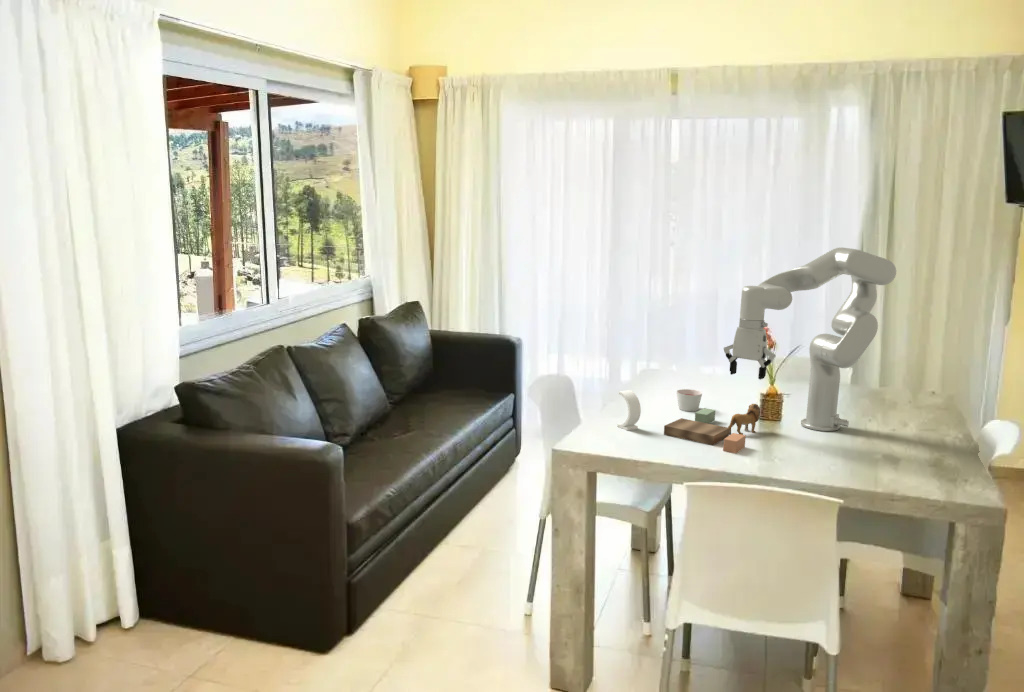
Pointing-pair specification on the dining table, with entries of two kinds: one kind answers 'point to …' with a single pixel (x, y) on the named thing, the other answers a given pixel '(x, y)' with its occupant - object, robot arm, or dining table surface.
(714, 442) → the walnut plinth
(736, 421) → the lion figurine
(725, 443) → the terracotta brick
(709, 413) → the sage brick
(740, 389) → the dining table surface
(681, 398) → the candle
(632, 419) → the white crescent moon figurine
